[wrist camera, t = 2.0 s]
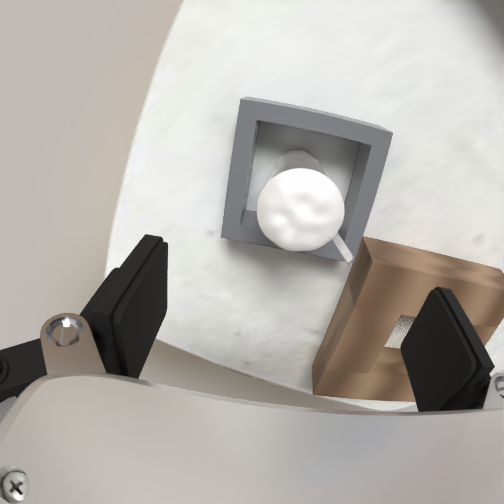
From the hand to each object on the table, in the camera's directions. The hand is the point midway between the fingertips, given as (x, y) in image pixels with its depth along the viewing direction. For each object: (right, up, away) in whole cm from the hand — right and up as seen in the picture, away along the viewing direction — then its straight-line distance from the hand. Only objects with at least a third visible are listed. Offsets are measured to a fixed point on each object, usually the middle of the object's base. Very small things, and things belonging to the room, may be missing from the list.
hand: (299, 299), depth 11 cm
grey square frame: (+2, +7, +13) cm, 15 cm away
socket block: (+14, -5, +19) cm, 24 cm away
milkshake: (+2, +7, +13) cm, 15 cm away
